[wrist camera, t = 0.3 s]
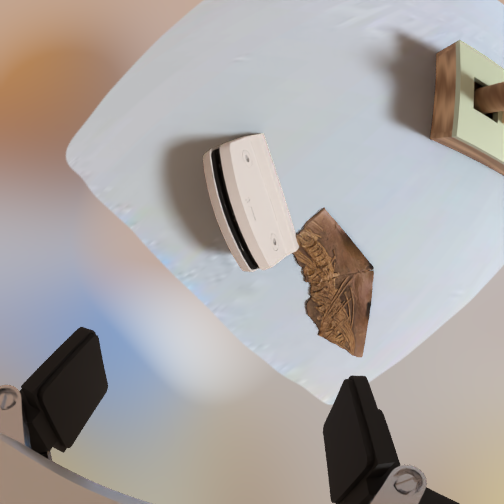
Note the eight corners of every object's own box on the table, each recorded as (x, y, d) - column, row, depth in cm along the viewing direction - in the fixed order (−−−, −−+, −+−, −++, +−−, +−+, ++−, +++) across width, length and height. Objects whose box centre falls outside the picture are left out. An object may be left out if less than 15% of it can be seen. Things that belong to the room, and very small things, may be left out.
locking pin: (454, 90, 30) (504, 75, 18) (471, 100, 30) (521, 89, 18) (453, 111, 31) (505, 100, 19) (469, 120, 31) (522, 113, 19)
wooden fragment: (281, 219, 39) (281, 221, 38) (358, 198, 37) (360, 199, 36) (321, 366, 46) (322, 370, 45) (382, 348, 44) (384, 351, 43)
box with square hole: (436, 53, 29) (455, 42, 23) (523, 109, 29) (544, 107, 23) (429, 138, 33) (451, 136, 28) (518, 184, 33) (539, 188, 27)
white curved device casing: (300, 249, 40) (277, 282, 31) (269, 255, 42) (239, 287, 33) (262, 130, 35) (226, 130, 27) (231, 142, 38) (190, 146, 29)
